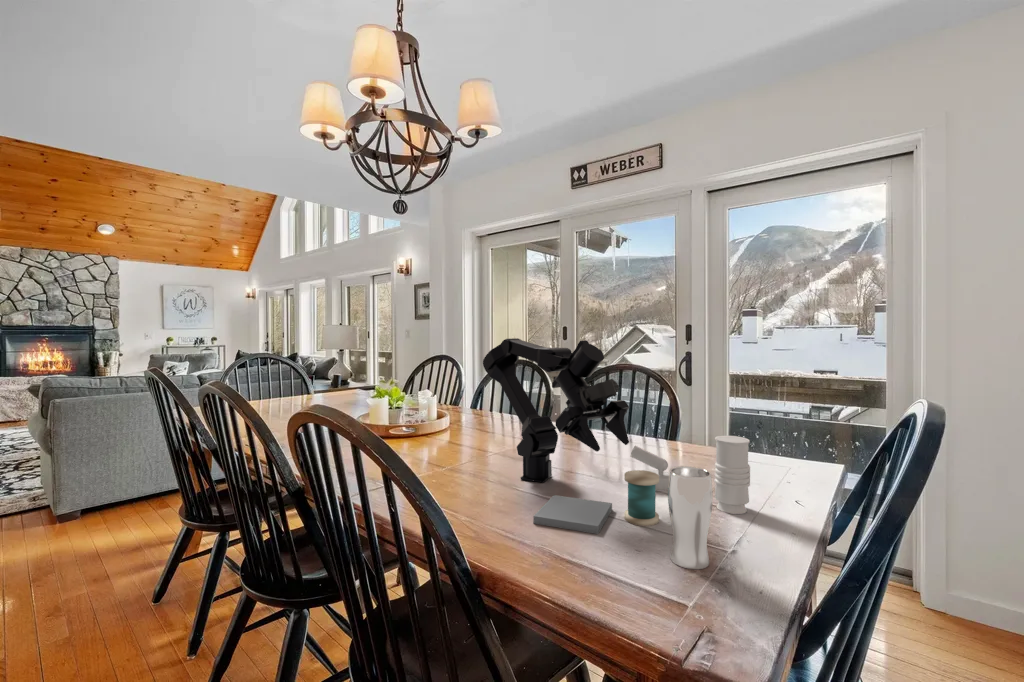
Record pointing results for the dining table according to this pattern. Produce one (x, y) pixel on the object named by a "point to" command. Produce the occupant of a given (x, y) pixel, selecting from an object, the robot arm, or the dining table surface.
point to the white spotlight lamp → (653, 465)
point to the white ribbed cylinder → (732, 474)
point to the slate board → (573, 514)
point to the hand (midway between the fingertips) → (613, 447)
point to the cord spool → (641, 497)
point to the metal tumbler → (690, 515)
